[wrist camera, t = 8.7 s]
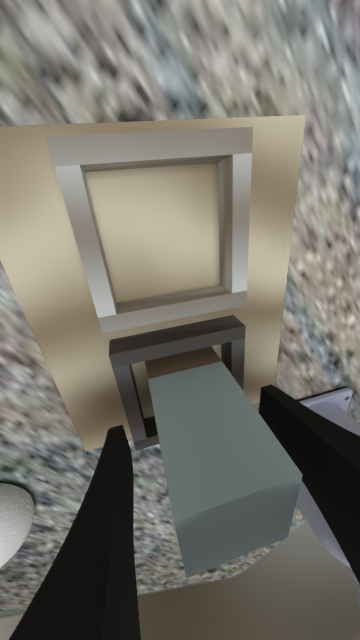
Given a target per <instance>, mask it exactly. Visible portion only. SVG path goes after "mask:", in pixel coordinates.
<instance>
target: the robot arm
mask: <svg viewBox="0 0 360 640" xmlns="http://www.w3.org/2000/svg"><path fill="white" fill-rule="evenodd" d="M352 393H353V391H352V390H351V389H350V388H344V389H340V390H337V391H333V392H330V393H327V394H323V395H320V396H316V397H313V398H309V399H306V400H303V401H299V402H298V401H297V400H295V399H293V398H292V397H290V396H289V395H287V394H286V393H284V392H283V391H281V390H279V389H278V388H276V387H275V386H273V385H272V384H271V385H267V386H264V387H261V393H260V405H259V414H260V415H261V417H262V418H263V420H264V421H265V423H266V424H267V425H268V427H269V428H270V430H271V431H272V432H273V434H274V435H275V437H276V438H277V440H278V441H279V442H280V444H281V445H282V447H283V448H284V449H285V451H286V452H287V454H288V455H289V456H290V458H291V459H292V461H293V462H294V464H295V465H296V466H297V468H298V469H299V471H300V472H301V473H302V475H303V476H302V480H301V484H300V488H299V492H298V497H297V501H296V504H297V506H298V507H299V509H300V511H301V512H302V514H303V516H304V517H305V519H306V520H307V522H308V524H309V525H310V527H311V529H312V530H313V532H314V533H315V535H316V537H317V538H318V539H319V541H320V542H321V543H322V544H323V546H324V547H325V548H326V549H327V550H328V551H329V552H330V553H331V554H332V555H333V556H334V557H335V558H337V559H338V560H339V561H341V562H342V563H344V564H345V565H347V566H349V567H351V568H352V570H353V572H352V573H351V576H352V577H353V579H354V580H355V582H356V583H357V585H358V587H359V591H358V601H359V606H360V424H359V423H358V422H357V421H356V420H355V419H353V418H352V417H351V416H350V415H349V414H348V413H347V409H348V406H349V403H350V400H351V397H352ZM9 640H141V636H140V625H139V613H138V600H137V587H136V574H135V560H134V541H133V466H132V456H131V450H130V447H129V443H128V440H127V437H126V434H125V430H124V427H123V425H119V426H115V427H112V428H109V429H108V431H107V435H106V439H105V443H104V446H103V449H102V452H101V455H100V458H99V461H98V464H97V467H96V470H95V472H94V475H93V478H92V480H91V483H90V485H89V488H88V490H87V493H86V495H85V497H84V500H83V502H82V505H81V507H80V509H79V511H78V514H77V516H76V518H75V520H74V522H73V524H72V527H71V529H70V531H69V533H68V535H67V537H66V539H65V541H64V543H63V545H62V547H61V549H60V551H59V552H58V554H57V556H56V558H55V560H54V562H53V564H52V566H51V568H50V570H49V571H48V573H47V575H46V577H45V579H44V581H43V582H42V584H41V586H40V588H39V589H38V591H37V593H36V594H35V596H34V598H33V600H32V601H31V603H30V605H29V606H28V608H27V610H26V612H25V613H24V615H23V617H22V619H21V620H20V622H19V624H18V625H17V627H16V629H15V630H14V632H13V634H12V635H11V637H10V639H9Z"/></svg>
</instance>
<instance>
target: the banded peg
mask: <svg viewBox="0 0 360 640" xmlns="http://www.w3.org/2000/svg"><path fill="white" fill-rule="evenodd" d="M145 365H146V371H147V376H148V382H149V387H150V393H151V398H152V404H153V409H154V415H155V420H156V426H157V431H158V437H159V442H160V448H161V454H162V459H163V465H164V470H165V476H166V481H167V487H168V492H169V498H170V503H171V509H172V514H173V520H174V525H175V529H176V533H177V538H178V542H179V546H180V551H181V555H182V559H183V564H184V568H185V572H186V577H187V578H188V577H191V576H193V575H196V574H198V573H201V572H203V571H205V570H208V569H210V568H213V567H215V566H218V565H220V564H223V563H225V562H227V561H230V560H232V559H235V558H237V557H240V556H242V555H245V554H247V553H249V552H252V551H254V550H257V549H259V548H262V547H264V546H267V545H269V544H271V543H274V542H276V541H279V540H281V539H284V538H286V537H288V534H289V530H290V526H291V522H292V518H293V513H294V509H295V505H296V501H297V497H298V492H299V488H300V484H301V480H302V476H303V475H302V473H301V472H300V471H299V469H298V468H297V466H296V465H295V464H294V462H293V461H292V459H291V458H290V456H289V455H288V454H287V452H286V451H285V449H284V448H283V447H282V445H281V444H280V442H279V441H278V440H277V438H276V437H275V435H274V434H273V432H272V431H271V430H270V428H269V427H268V425H267V424H266V423H265V421H264V420H263V418H262V417H261V415H260V414H259V413H258V411H257V410H256V408H255V407H254V406H253V404H252V403H251V401H250V400H249V399H248V397H247V396H246V394H245V393H244V391H243V390H242V389H241V387H240V386H239V384H238V383H237V382H236V380H235V379H234V377H233V376H232V375H231V373H230V372H229V370H228V369H227V367H226V366H225V365H224V363H223V362H222V360H221V359H220V358H219V356H218V355H217V353H216V352H215V351H214V349H213V348H212V346H210V347H206V348H201V349H197V350H192V351H188V352H183V353H179V354H174V355H170V356H165V357H161V358H157V359H152V360H148V361H145Z"/></svg>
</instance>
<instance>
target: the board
mask: <svg viewBox="0 0 360 640" xmlns="http://www.w3.org/2000/svg"><path fill="white" fill-rule="evenodd" d="M305 118H306V115H296V116H270V117H243V118H217V119H191V120H164V121H138V122H112V123H85V124H59V125H33V126H7V127H0V260H1V263H2V265H3V267H4V269H5V272H6V274H7V276H8V278H9V281H10V283H11V285H12V287H13V290H14V292H15V294H16V296H17V299H18V301H19V303H20V305H21V308H22V310H23V312H24V314H25V316H26V319H27V321H28V323H29V325H30V328H31V330H32V332H33V334H34V337H35V339H36V341H37V343H38V346H39V348H40V350H41V352H42V355H43V357H44V359H45V361H46V364H47V366H48V368H49V370H50V373H51V375H52V377H53V379H54V382H55V384H56V386H57V388H58V391H59V393H60V395H61V397H62V400H63V402H64V404H65V406H66V409H67V411H68V413H69V415H70V418H71V420H72V422H73V424H74V427H75V429H76V431H77V433H78V436H79V438H80V440H81V442H82V445H83V447H84V449H85V451H88V450H92V449H96V448H99V447H103V446H104V443H105V439H106V435H107V431H108V429H109V428H112V427H115V426H119V425H123V427H124V430H125V434H126V437H127V439H131V438H133V442H134V445H135V449H136V450H139V449H143V448H146V447H149V446H153V445H156V444H160V442H159V437H158V431H157V426H156V420H155V415H154V409H153V404H152V398H151V393H150V387H149V382H148V376H147V371H146V365H145V361H148V360H152V359H157V358H161V357H165V356H170V355H174V354H179V353H183V352H188V351H192V350H197V349H201V348H206V347H210V346H212V348H213V349H214V351H215V352H216V353H217V355H218V356H219V358H220V359H221V360H222V362H223V363H224V365H225V366H226V367H227V369H228V370H229V372H230V373H231V375H232V376H233V377H234V379H235V380H236V382H237V383H238V384H239V386H240V387H241V389H242V390H243V391H244V393H245V394H246V396H247V397H248V399H249V400H250V401H251V403H252V404H255V403H259V402H260V393H261V387H264V386H267V385H271V384H272V385H273V386H274V385H275V376H276V368H277V359H278V350H279V342H280V333H281V325H282V316H283V307H284V299H285V290H286V281H287V273H288V264H289V256H290V247H291V238H292V230H293V221H294V212H295V204H296V195H297V187H298V178H299V169H300V161H301V152H302V144H303V135H304V126H305Z"/></svg>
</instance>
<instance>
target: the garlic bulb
mask: <svg viewBox="0 0 360 640" xmlns="http://www.w3.org/2000/svg"><path fill="white" fill-rule="evenodd" d="M34 510H35V509H34V502H33V500H32V497H31V496H30V494H29V493H28V492H27V491H25V490H24V489H23V488H21V487H18V486H16V485H12V484H7V483H0V567H2V566H3V565H4V564H5V563H6V562H7V561H8V560H9V559H10V558H11V557H12V556H13V555H14V554H15V553H16V552H17V551H18V549H19V548H20V547H21V545H22V544H23V542H24V541H25V539H26V537H27V535H28V533H29V530H30V528H31V525H32V522H33V518H34Z"/></svg>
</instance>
